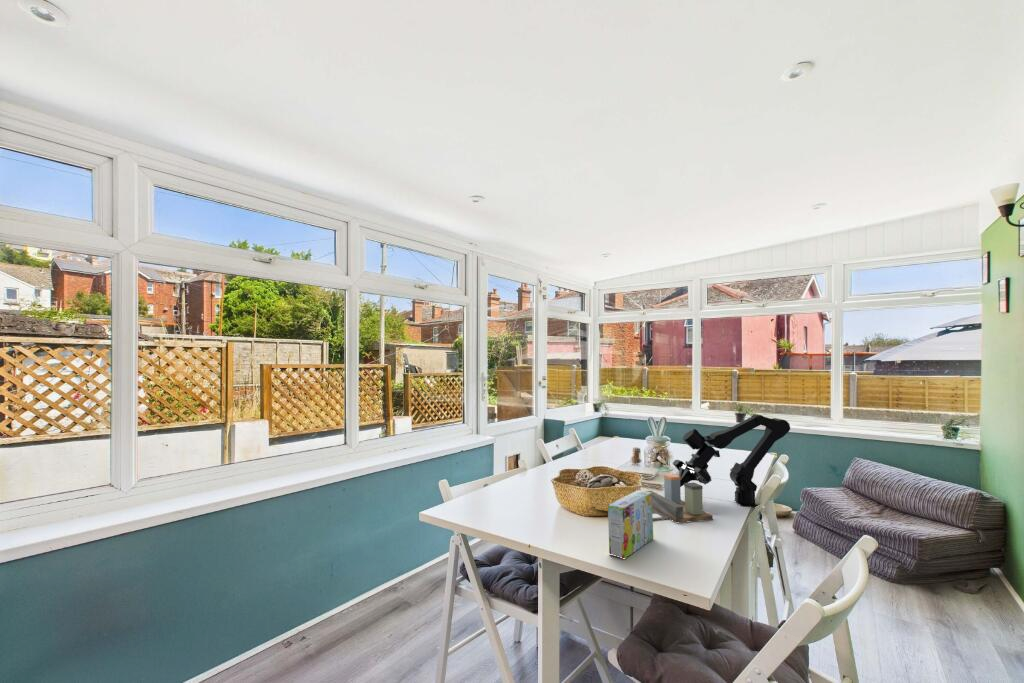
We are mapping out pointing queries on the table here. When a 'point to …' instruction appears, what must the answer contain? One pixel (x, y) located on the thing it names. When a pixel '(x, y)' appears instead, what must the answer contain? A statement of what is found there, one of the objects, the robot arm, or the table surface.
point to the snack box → (630, 523)
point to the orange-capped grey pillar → (672, 487)
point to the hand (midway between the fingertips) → (678, 486)
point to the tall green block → (693, 498)
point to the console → (675, 509)
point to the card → (658, 515)
